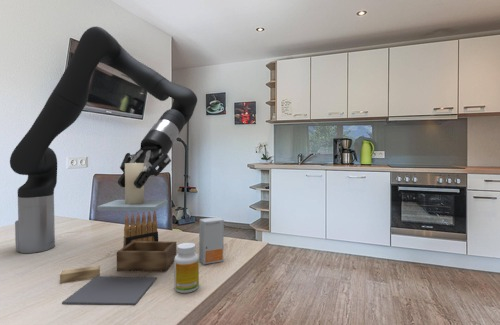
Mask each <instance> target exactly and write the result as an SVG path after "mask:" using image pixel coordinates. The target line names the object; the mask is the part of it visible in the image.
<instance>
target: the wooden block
mask: <svg viewBox="0 0 500 325" xmlns="http://www.w3.org/2000/svg"><path fill="white" fill-rule="evenodd" d="M100 269H101V268H100V265H94V266H88V267H87V266H86V267H79V268H72V269H67V270H66V269H65V270H61V271H60V274H59V284H60V285H61V284H66V283H73V282H79V281H85V280H92V279H94V278H95V277H96V276H100V274H101V270H100Z"/></svg>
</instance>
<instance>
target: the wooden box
mask: <svg viewBox="0 0 500 325" xmlns="http://www.w3.org/2000/svg"><path fill="white" fill-rule="evenodd" d="M177 254H178V252H177V241H162V240H161V241H159V240H158V241H132V242H131V243H129V244H128V245H126V246H125V247H122V248H120V249H119V250H117V251H116V272H154V273H155V272H161V273H162V272H163V273H164V272H168V270H169V269H170V268H171V266H172V265H173V264H174V259H175V256H176V255H177Z"/></svg>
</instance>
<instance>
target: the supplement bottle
mask: <svg viewBox="0 0 500 325" xmlns="http://www.w3.org/2000/svg"><path fill="white" fill-rule="evenodd" d="M176 248H177V255H176V256H175V259H174V263H173V264H174V265H173V266H174V267H173V268H174V272H173V273H174V275H173V276H174V278H173V280H174V281H173V282H174V286H173V287H174V290H175V292H178V293H181V294H188V293H191V292H192V293H193V292H194V291H196V290H197V289H198V288H199V285H200V284H199V283H200V281H199V280H200V277H199V275H200V272H199V270H200V269H199V266H200V265H199V263H200V262H199V261H200V260H199V254H197V253H196V244H195V243H193V242H183V243H180V244H178V245H176Z"/></svg>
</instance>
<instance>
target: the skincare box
mask: <svg viewBox="0 0 500 325" xmlns="http://www.w3.org/2000/svg"><path fill="white" fill-rule="evenodd" d="M198 222H199V227H198V228H199V235H198V236H199V237H198V238H199V242H198V244H199V245H198V246H199V250H198V253H199V254H198V257H199V261H200V263H202V265H209V264H214V263H220V262H224V243H225V242H224V233H225V232H224V228H225V227H224V225H225V224H224V223H225V222H224V219H223V218H221V217H219V216H218V217H216V216H215V217H206V218H200V219H199V220H198Z"/></svg>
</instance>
